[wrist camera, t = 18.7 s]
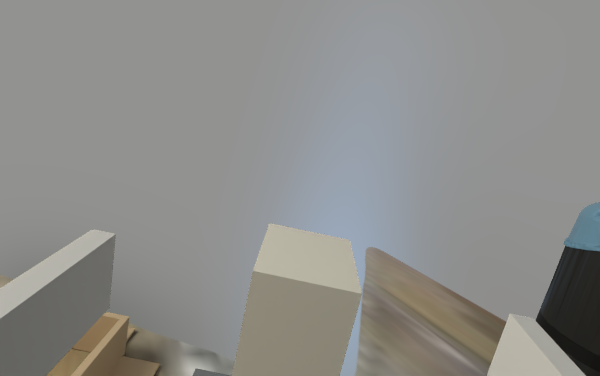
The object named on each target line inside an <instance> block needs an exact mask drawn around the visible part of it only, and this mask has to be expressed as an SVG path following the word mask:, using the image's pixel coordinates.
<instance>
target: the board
mask: <svg viewBox="0 0 600 376" xmlns="http://www.w3.org/2000/svg"><path fill="white" fill-rule="evenodd" d="M193 376H230V375H225V374H220V373H215V372H210V371H206V370H201V369H195V372H194V374H193Z"/></svg>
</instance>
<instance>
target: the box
mask: <svg viewBox="0 0 600 376" xmlns="http://www.w3.org/2000/svg"><path fill="white" fill-rule="evenodd" d="M361 295H362V292H361V287H360V283H359V278H358V274H357V270H356V265H355V261H354V256H353V252H352V247H351V243H350V240H346V239H342V238H337V237H332V236H327V235H323V234H319V233H313V232H309V231H304V230H300V229H295V228H290V227H286V226H281V225H276V224H271V223H270V224H269V226H268V229H267V232H266V235H265V238H264V240H263V244H262V246H261V249H260V252H259V255H258V258H257V260H256V263H255V266H254V269H253V273H252V278H251V283H250V288H249V294H248V298H247V303H246V308H245V314H244V318H243V323H242V329H241V333H240V339H239V344H238V349H237V354H236V359H235V364H234V369H233V374H232V376H340V372H341V369H342V365H343V361H344V357H345V354H346V350H347V347H348V343H349V339H350V336H351V332H352V328H353V325H354V321H355V317H356V313H357V310H358V306H359V303H360V299H361Z"/></svg>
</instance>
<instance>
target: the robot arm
mask: <svg viewBox="0 0 600 376" xmlns="http://www.w3.org/2000/svg"><path fill="white" fill-rule="evenodd" d="M115 236H116V234H113V233H108V232H103V231H98V230H94V229H92V230H91V231H89V232H88V233H86V234H84V235H83V236H81V237H80V238H78V239H77V240H75V241H73V242H72V243H70V244H69V245H67V246H66V247H64V248H63V249H61V250H59V251H58V252H57V253H55V254H53V255H52V256H50V257H48V258H47V259H45V260H44V261H42V262H41V263H39V264H37V265H36V266H34V267H33V268H31V269H30V270H28V271H26V272H25V273H23V274H22V275H20V276H19V277H17V278H15V279H14V280H12V281H11V282H9V283H8V284H6V285H4V286H3V287H1V288H0V376H46V375H47V374H48V373H49V372H50V371H51V370H52V369H53V367H54V366H55V365H56V364H57V363H58V362H59V361H60V360H61V359H62V358H63V357H64V356H65V355H66V354H67V353H68V352H69V350H70V349H71V348H72V347H73V346H74V345H75V344H76V343H77V342H78V341H79V340H80V339H81V338H82V337H83V336H84V334H85V333H86V332H87V331H88V330H89V329H90V328H91V327H92V326H93V325H94V324H95V323H96V322H97V321H98V320H99V318H100V317H101V316H102V315H103V314H104V313H105V312H106V311H107V310H108V309H109V306H110V294H111V283H112V270H113V260H114V248H115ZM564 244H565V248H564V251H563V253H562V256H561V259H560V261H559V264H558V266H557V269H556V271H555V274H554V276H553V279H552V281H551V284H550V286H549V289H548V291H547V294H546V296H545V299H544V301H543V303H542V306H541V309H540V311H539V313H538V316H537V318H536V321H535V320H534V319H533V318H530V317H525V316H520V315H515V314H510V315H509V317H508V320H507V323H506V325H505V328H504V331H503V333H502V336H501V339H500V341H499V344H498V347H497V349H496V352H495V355H494V358H493V360H492V363H491V366H490V368H489V371H488V374H487V376H600V202H599V203H594V204H591V205H589V206H587V207H585V208H584V209H583V210H582V211H581V213H580V214H579V216H578V218H577V220H576V223H575V225H574V227H573V229H572V231H571V233H570V235H569V237H568V238H566V239H565V241H564Z"/></svg>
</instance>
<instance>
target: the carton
mask: <svg viewBox="0 0 600 376" xmlns="http://www.w3.org/2000/svg"><path fill="white" fill-rule="evenodd" d="M128 323H129V317H128V316H123V315H118V314H114V313H109V312H105V313H104V314H103V315H102V316H101V317H100V318H99V320H98V321H97V322H96V323H95V324H94V325H93V326H92V327H91V328H90V329H89V330H88V331H87V332H86V333H85V334H84V336H83V337H82V338H81V339H80V340H79V341H78V342H77V343H76V344H75V345H74V346H73V347H72V348H73V349H78V350H83V351H87V352H91V353H90V354H89V355H88V356H87V358H86V359H85V360H84V361H83V362H82V363H81V365H80V366H79V367H78V368H77V369H76V370H75V372H74V373H73V374H72V375H71V376H154V375H155V373H156V372H157V370H158V368H159V366H160V364H159V363H154V362H149V361H144V360H140V359H135V358H130V357H125V356H124V355H125V348H126V342H127V341H128V340H129V338H130V337H131V336H132V334H133V333H134V332H135V329H134V328H130V327H128Z"/></svg>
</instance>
